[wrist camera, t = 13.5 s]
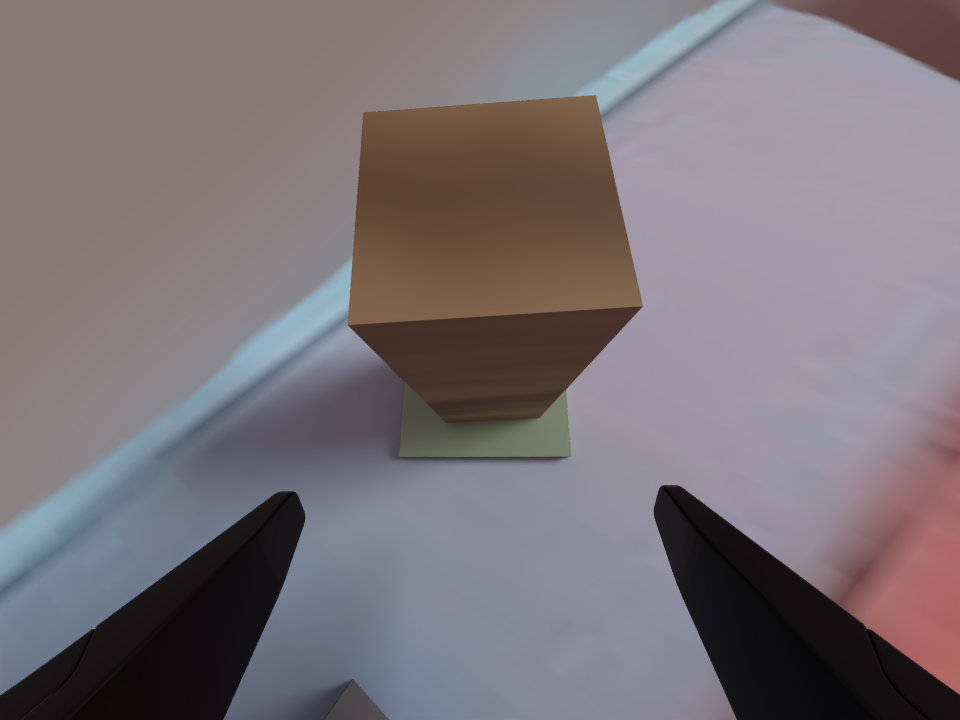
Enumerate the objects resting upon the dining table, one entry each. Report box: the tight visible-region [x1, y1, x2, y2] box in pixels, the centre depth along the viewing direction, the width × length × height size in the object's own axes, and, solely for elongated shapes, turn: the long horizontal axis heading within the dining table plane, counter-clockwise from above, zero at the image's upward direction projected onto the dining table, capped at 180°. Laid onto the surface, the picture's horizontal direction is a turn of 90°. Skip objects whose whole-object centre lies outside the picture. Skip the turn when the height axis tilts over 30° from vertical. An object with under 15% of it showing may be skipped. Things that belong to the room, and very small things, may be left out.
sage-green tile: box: [399, 381, 571, 457], centre depth 20 cm, size 9×9×2 cm
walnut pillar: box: [348, 95, 643, 423], centre depth 13 cm, size 5×5×13 cm
